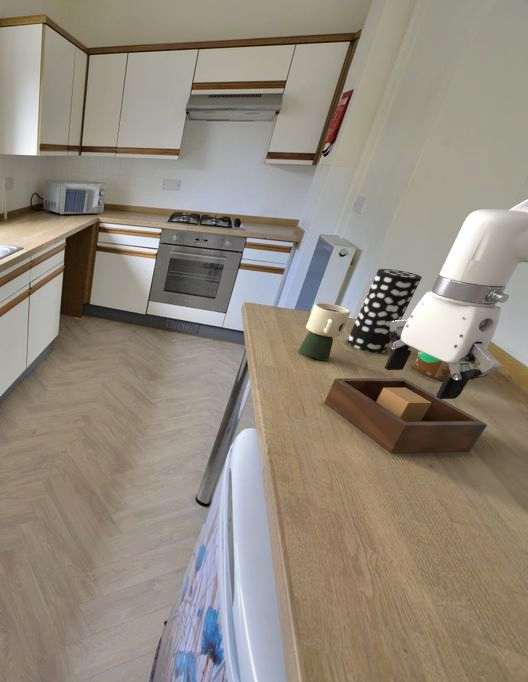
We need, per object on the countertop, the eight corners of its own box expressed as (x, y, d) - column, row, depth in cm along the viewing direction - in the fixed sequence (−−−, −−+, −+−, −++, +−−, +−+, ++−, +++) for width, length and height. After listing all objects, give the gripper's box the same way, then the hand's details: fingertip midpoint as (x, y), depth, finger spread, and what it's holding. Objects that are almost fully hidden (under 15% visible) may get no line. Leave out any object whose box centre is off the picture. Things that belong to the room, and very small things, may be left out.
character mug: (331, 368, 96) (354, 318, 91) (296, 360, 100) (316, 311, 94) (327, 351, 105) (347, 304, 99) (295, 344, 108) (313, 298, 103)
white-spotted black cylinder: (340, 341, 111) (370, 270, 103) (358, 337, 114) (389, 267, 106) (374, 355, 104) (410, 279, 96) (392, 350, 108) (429, 277, 99)
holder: (391, 402, 84) (404, 378, 82) (469, 451, 71) (487, 424, 68) (323, 402, 83) (334, 378, 80) (390, 453, 69) (405, 425, 67)
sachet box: (391, 413, 79) (405, 387, 76) (415, 430, 74) (431, 402, 72) (369, 414, 78) (383, 387, 76) (393, 430, 74) (408, 402, 71)
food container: (403, 357, 104) (422, 321, 100) (435, 364, 101) (456, 327, 97) (409, 375, 95) (430, 337, 91) (445, 384, 92) (468, 345, 88)
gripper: (554, 310, 58) (491, 410, 65) (433, 275, 73) (393, 359, 81) (506, 310, 57) (448, 411, 64) (394, 275, 73) (357, 360, 80)
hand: (417, 382), depth 73 cm, fingers open, 9 cm apart
